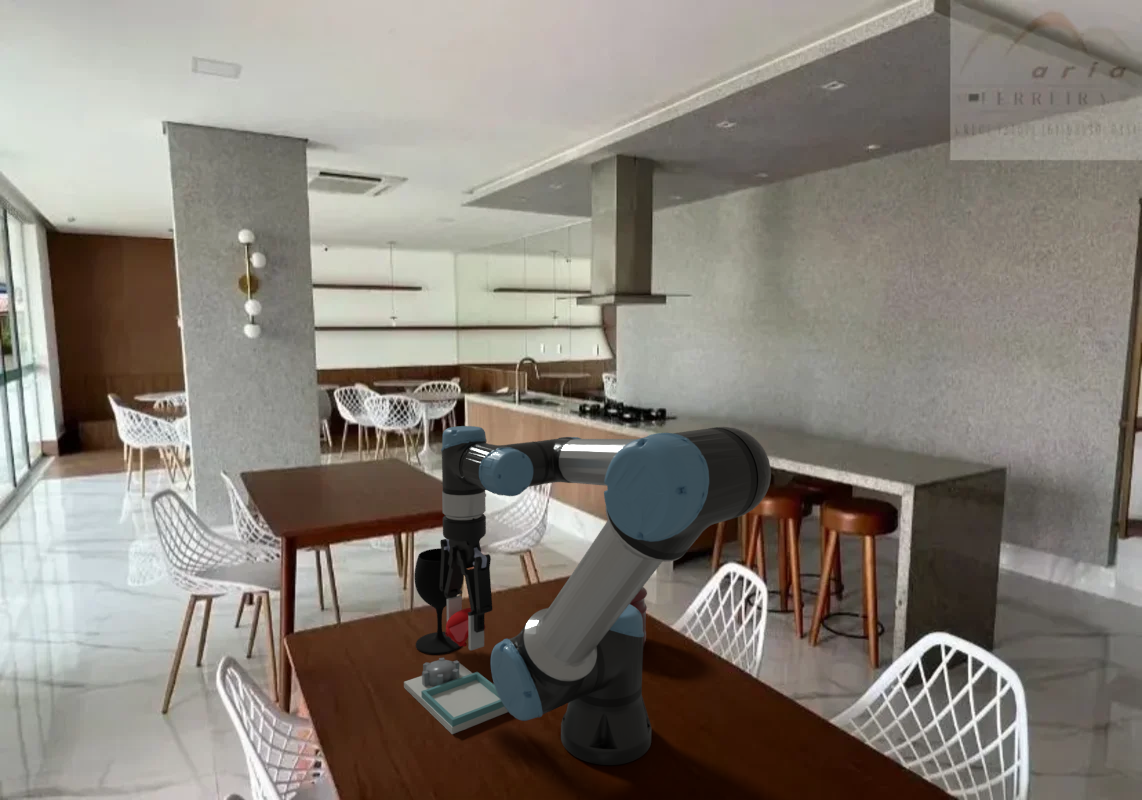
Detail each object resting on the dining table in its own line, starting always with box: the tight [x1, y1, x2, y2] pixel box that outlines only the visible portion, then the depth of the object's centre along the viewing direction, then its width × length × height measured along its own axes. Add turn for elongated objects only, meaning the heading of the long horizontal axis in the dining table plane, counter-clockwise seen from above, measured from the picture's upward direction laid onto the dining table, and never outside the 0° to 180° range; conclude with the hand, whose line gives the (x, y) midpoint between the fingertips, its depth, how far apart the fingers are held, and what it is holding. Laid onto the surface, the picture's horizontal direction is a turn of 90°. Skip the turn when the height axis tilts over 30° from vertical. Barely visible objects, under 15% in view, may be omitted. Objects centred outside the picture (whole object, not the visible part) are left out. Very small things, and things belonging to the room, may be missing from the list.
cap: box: [444, 607, 486, 648], centre depth 121 cm, size 8×6×6 cm
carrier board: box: [403, 657, 509, 735], centre depth 124 cm, size 19×12×4 cm, turn 38°
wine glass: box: [413, 547, 465, 656], centre depth 146 cm, size 10×10×20 cm
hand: (465, 639), depth 121 cm, fingers closed on cap, 7 cm apart
